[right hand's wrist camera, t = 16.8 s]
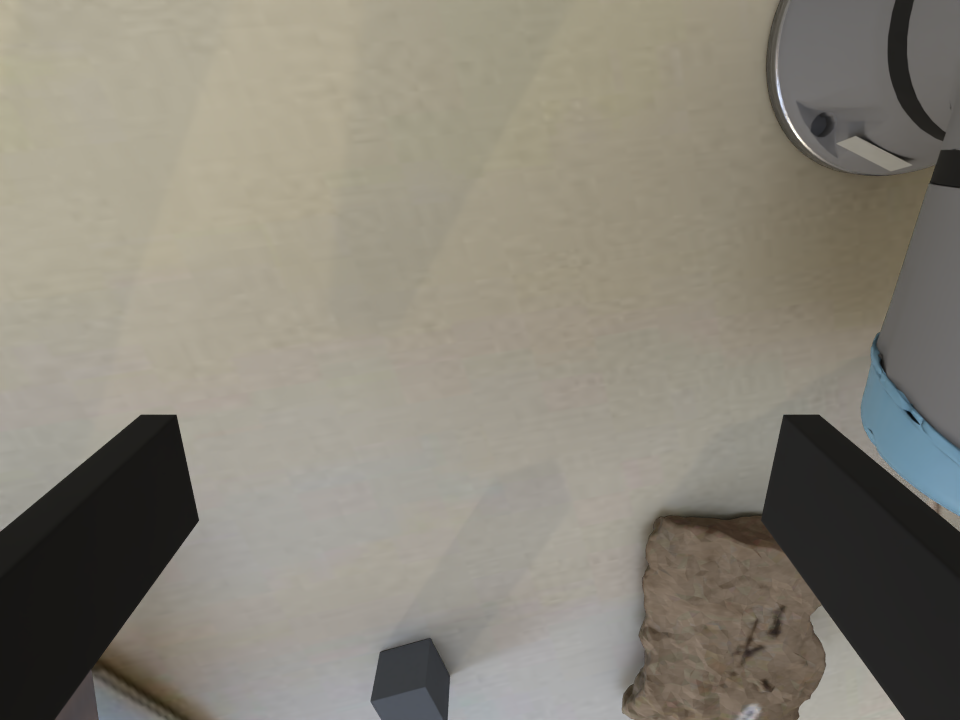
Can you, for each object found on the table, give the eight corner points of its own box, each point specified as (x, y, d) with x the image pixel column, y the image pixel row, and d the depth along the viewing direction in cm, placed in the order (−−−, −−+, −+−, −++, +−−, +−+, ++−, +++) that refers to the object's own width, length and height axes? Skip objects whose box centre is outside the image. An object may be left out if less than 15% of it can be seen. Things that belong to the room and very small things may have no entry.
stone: (789, 731, 52) (810, 792, 46) (620, 696, 55) (621, 748, 49) (831, 516, 48) (861, 553, 42) (645, 490, 51) (649, 521, 45)
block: (430, 637, 53) (425, 686, 48) (450, 675, 54) (447, 726, 50) (379, 651, 53) (370, 701, 49) (401, 689, 55) (393, 740, 50)
